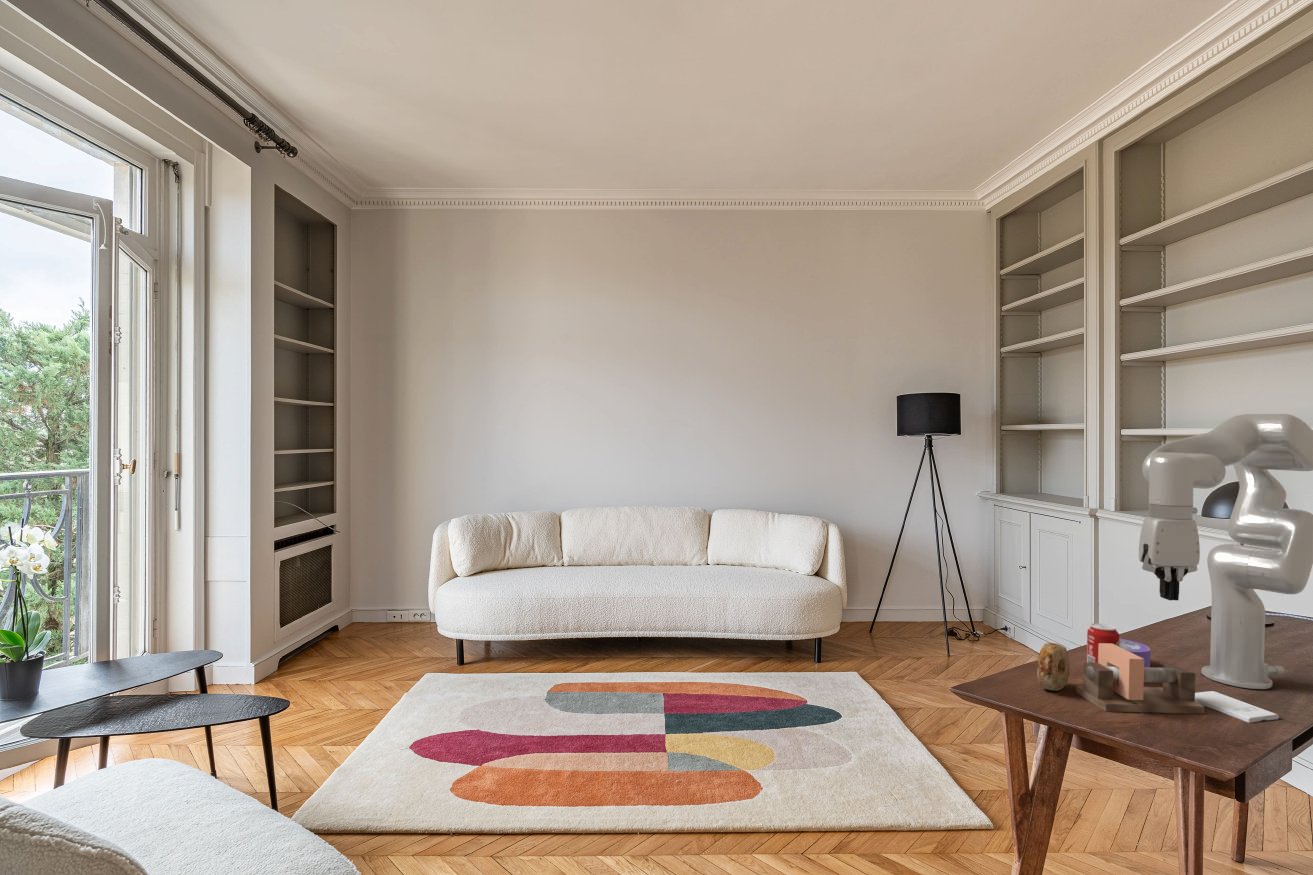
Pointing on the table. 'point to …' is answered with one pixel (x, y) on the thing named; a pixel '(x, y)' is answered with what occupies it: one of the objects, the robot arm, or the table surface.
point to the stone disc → (1053, 666)
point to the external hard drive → (1233, 707)
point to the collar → (1124, 670)
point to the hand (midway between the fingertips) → (1169, 598)
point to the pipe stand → (1155, 699)
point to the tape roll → (1136, 650)
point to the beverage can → (1100, 639)
